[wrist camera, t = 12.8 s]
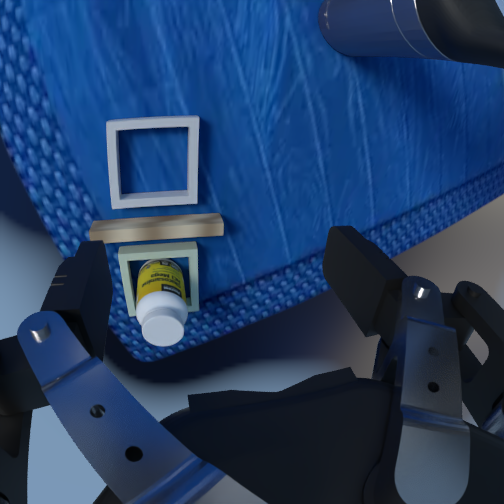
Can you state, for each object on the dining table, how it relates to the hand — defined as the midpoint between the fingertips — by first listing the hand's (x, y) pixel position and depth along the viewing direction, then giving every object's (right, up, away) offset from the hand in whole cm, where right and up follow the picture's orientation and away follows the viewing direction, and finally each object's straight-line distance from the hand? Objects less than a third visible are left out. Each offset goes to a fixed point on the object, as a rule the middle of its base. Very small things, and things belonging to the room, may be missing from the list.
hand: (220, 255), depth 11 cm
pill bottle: (-11, -3, +31) cm, 34 cm away
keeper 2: (-11, -3, +31) cm, 33 cm away
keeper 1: (-10, +11, +23) cm, 28 cm away
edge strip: (-11, +4, +27) cm, 30 cm away
